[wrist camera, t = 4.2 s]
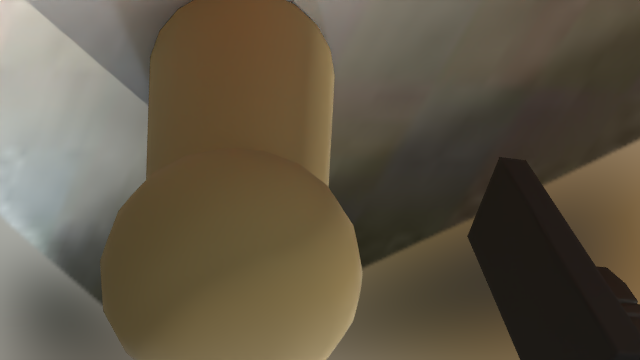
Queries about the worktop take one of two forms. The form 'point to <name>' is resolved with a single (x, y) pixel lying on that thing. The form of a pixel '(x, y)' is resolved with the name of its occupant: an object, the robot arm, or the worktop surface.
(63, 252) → the worktop surface
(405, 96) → the worktop surface
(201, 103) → the cork
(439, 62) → the worktop surface
